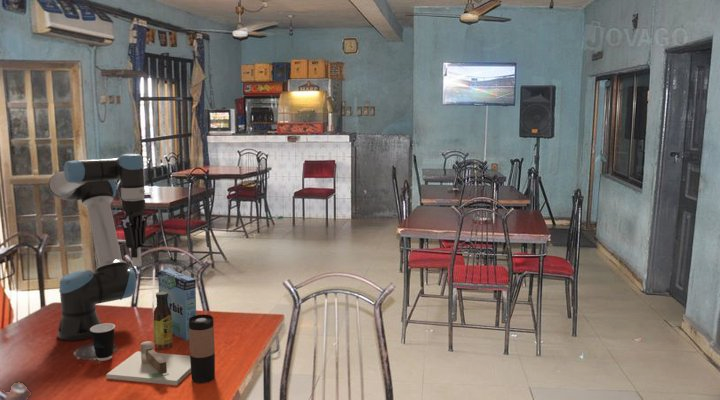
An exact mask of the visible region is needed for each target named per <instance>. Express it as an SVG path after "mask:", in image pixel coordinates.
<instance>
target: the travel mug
mask: <svg viewBox="0 0 720 400" xmlns="http://www.w3.org/2000/svg"><path fill="white" fill-rule="evenodd" d="M214 326H215V325H214V316H212V315H210V314H198V315H197V314H196V316H193V317H191V318H190V319H189V340H188V343H189V356H190V363H191V372H190V374H191V381H192V382H193V383H195V384H206V383H210V382H212V381H213V380H215V377H216V369H215V368H216V360H215V359H216V351H215V349H216V347H215V327H214Z"/></svg>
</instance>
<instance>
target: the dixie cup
mask: <svg viewBox="0 0 720 400" xmlns="http://www.w3.org/2000/svg"><path fill="white" fill-rule="evenodd" d="M115 328H116V325H115V324H114V323H109V322H105V323H101V324H98V325H95V326H93V327H91V328H90V331H91V334H92V337H91V338H92V343H93V348H94V354H95V357H96V359H97V361H101V362H103V361H104V362H105V361H108V360H111V359H112V358H113V355H114V343H115V341H114V340H115Z"/></svg>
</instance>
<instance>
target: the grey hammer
mask: <svg viewBox="0 0 720 400" xmlns="http://www.w3.org/2000/svg"><path fill="white" fill-rule="evenodd" d="M154 347H155V345H154V341H149V340H148V341H143V342H141V343H140V352H141V362H142V363H150V364H151V365H152V366H153V367H154V368H155V369H156V370H157V371H158V372H159V373H160V374H164V373H167V366H166V361H165V360H164V359H163V358H162V357H161V356H160V355H159V354H158V353H159V352H157V351H155V349H154Z"/></svg>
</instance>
